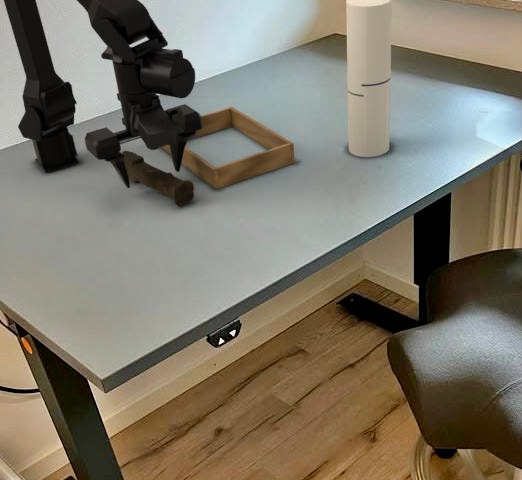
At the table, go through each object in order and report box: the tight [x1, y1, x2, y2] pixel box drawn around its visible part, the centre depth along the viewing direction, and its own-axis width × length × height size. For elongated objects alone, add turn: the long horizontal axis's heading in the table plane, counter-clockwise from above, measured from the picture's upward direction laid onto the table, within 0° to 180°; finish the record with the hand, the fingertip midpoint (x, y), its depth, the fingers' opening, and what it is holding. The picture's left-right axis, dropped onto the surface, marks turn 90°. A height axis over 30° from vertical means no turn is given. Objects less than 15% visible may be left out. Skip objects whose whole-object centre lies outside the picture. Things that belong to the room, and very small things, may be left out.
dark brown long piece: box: [121, 150, 195, 208], centre depth 134 cm, size 19×4×5 cm, turn 39°
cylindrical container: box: [345, 0, 393, 158], centre depth 133 cm, size 7×7×25 cm
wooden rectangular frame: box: [160, 106, 296, 190], centre depth 143 cm, size 16×22×4 cm
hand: (153, 179), depth 134 cm, fingers open, 9 cm apart
